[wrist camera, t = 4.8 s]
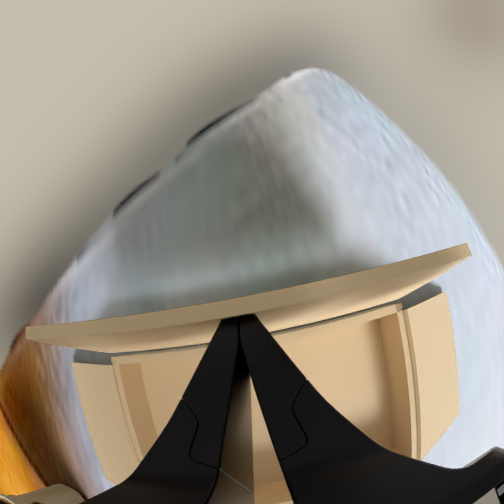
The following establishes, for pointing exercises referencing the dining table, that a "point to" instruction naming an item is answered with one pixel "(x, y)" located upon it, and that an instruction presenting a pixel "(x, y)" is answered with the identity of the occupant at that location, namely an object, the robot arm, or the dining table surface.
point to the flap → (253, 308)
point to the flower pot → (47, 496)
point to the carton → (315, 370)
